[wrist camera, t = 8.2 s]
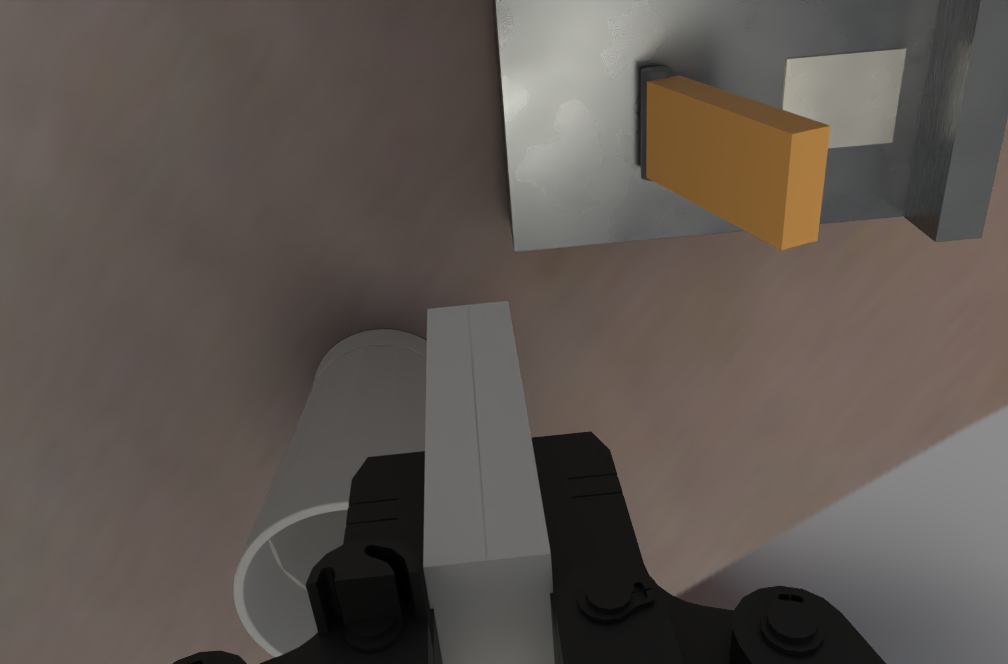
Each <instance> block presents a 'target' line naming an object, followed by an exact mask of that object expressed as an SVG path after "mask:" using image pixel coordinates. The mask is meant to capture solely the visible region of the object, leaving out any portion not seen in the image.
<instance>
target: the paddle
mask: <svg viewBox="0 0 1008 664" xmlns="http://www.w3.org/2000/svg"><path fill="white" fill-rule="evenodd" d="M830 127H831V126H830V125H827V124H824V123H821V122H818V121H815V120H812V119H809V118H806V117H803V116H800V115H797V114H794V113H791V112H788V111H785V110H782V109H779V108H776V107H773V106H770V105H767V104H764V103H761V102H758V101H755V100H752V99H749V98H746V97H743V96H740V95H737V94H734V93H731V92H728V91H725V90H722V89H719V88H716V87H713V86H710V85H707V84H704V83H701V82H698V81H695V80H692V79H689V78H686V77H683V76H680V75H678V76H673V77H672V68H671V67H666V66H652V67H646V68H643V69H641V178H642V179H643V180H646V181H654V182H656V183H658V184H659V185H661V186H663V187H665V188H667V189H669V190H670V191H672V192H674V193H676V194H678V195H680V196H682V197H683V198H685V199H687V200H689V201H691V202H693V203H695V204H696V205H698V206H700V207H702V208H704V209H706V210H708V211H709V212H711V213H713V214H715V215H717V216H719V217H720V218H722V219H724V220H726V221H728V222H730V223H732V224H733V225H735V226H737V227H739V228H741V229H743V230H745V231H746V232H748V233H750V234H752V235H754V236H756V237H758V238H759V239H761V240H763V241H765V242H767V243H769V244H771V245H772V246H774V247H776V248H778V249H780V250H785V249H789V248H792V247H796V246H800V245H803V244H807V243H811V242H815V241H817V240H818V232H819V223H820V214H821V205H822V197H823V188H824V179H825V170H826V162H827V153H828V144H829V135H830Z"/></svg>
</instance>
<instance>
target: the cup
mask: <svg viewBox="0 0 1008 664" xmlns="http://www.w3.org/2000/svg"><path fill="white" fill-rule="evenodd" d="M426 359H427V341H426V340H425V339H423V338H421V337H419V336H416V335H414V334H411V333H408V332H404V331H399V330H392V329H376V330H368V331H364V332H360V333H357V334H354V335H352V336H349V337H347V338H345V339H344V340H342V341H340V342H339V343H337V344H336V345H335V346H334V347H332V348H331V349H330V350H329V351H328V352H327V354H326V355H325V356H324V357H323V359H322V360H321V362H320V364H319V366H318V368H317V371H316V374H315V378H314V382H313V386H312V389H311V392H310V394H309V396H308V399H307V401H306V404H305V406H304V409H303V411H302V414H301V416H300V418H299V421H298V423H297V426H296V428H295V431H294V433H293V436H292V438H291V441H290V443H289V445H288V448H287V450H286V453H285V455H284V458H283V460H282V463H281V465H280V467H279V470H278V472H277V475H276V477H275V480H274V482H273V485H272V487H271V489H270V492H269V494H268V497H267V499H266V501H265V503H264V506H263V508H262V510H261V513H260V515H259V517H258V520H257V522H256V524H255V526H254V529H253V531H252V533H251V536H250V538H249V540H248V543H247V545H246V547H245V550H244V552H243V554H242V557H241V559H240V561H239V563H238V566H237V569H236V572H235V577H234V584H233V594H234V602H235V606H236V610H237V613H238V615H239V617H240V620H241V622H242V623H243V625H244V627H245V628H246V630H247V631H248V633H249V634H250V635H251V637H252V638H253V639H254V640H255V641H256V642H257V643H258V644H259V645H260V646H261V647H262V648H263V649H264V650H265V651H267V652H268V653H269V654H271V655H272V656H273V657H275V658H276V657H278V656H281V655H283V654H285V653H287V652H289V651H291V650H294V649H296V648H298V647H300V646H301V645H302V644H304V643H305V642H306V641H308V640H309V639H311V638H312V637H313V636H314V635H315V634H316V633H317V632H318V630H317V627H316V623H315V619H314V615H313V611H312V607H311V604H310V600H309V596H308V592H307V588H306V582H307V579H308V577H309V575H310V572H311V570H312V568H313V567H314V566H315V565H316V564H317V563H318V562H319V561H320V560H321V559H322V558H323V557H324V556H325V555H326V554H327V553H329V552H330V551H332V550H334V549H336V548H338V547H340V546H341V545H343V541H344V534H345V528H346V519H347V511H348V508H349V496H350V489H351V481H352V478H353V477H354V476H355V474H356V473H357V471H358V470H359V469H360V467H361V466H362V464H363V463H364V462H365V460H366V459H367V457H373V456H383V455H392V454H402V453H411V452H421V451H425V422H426Z"/></svg>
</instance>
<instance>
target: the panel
mask: <svg viewBox="0 0 1008 664" xmlns="http://www.w3.org/2000/svg"><path fill="white" fill-rule="evenodd" d="M493 11H494V24H495V37H496V50H497V63H498V76H499V88H500V101H501V114H502V127H503V140H504V153H505V166H506V179H507V192H508V205H509V218H510V226H511V232H512V238H513V245H514V251H515V252H517V251H528V250H539V249H550V248H561V247H572V246H583V245H594V244H605V243H616V242H627V241H638V240H649V239H659V238H670V237H681V236H692V235H703V234H714V233H725V232H736V231H745V230H743V229H741V228H739V227H737V226H735V225H733V224H732V223H730V222H728V221H726V220H724V219H722V218H720V217H719V216H717V215H715V214H713V213H711V212H709V211H708V210H706V209H704V208H702V207H700V206H698V205H696V204H695V203H693V202H691V201H689V200H687V199H685V198H683V197H682V196H680V195H678V194H676V193H674V192H672V191H670V190H669V189H667V188H665V187H663V186H661V185H659V184H658V183H656V182H654V181H646V180H643V179H642V178H641V69H643V68H646V67H652V66H666V67H671V68H672V77H673V76H678V75H680V76H683V77H686V78H689V79H692V80H695V81H698V82H701V83H704V84H707V85H710V86H713V87H716V88H719V89H722V90H725V91H728V92H731V93H734V94H737V95H740V96H743V97H746V98H749V99H752V100H755V101H758V102H761V103H764V104H767V105H770V106H773V107H776V108H779V109H782V110H785V111H788V112H791V113H794V114H797V115H800V116H803V117H806V118H809V119H812V120H815V121H818V122H821V123H824V124H827V125H830V126H831V127H830V135H829V144H828V153H827V162H826V170H825V179H824V188H823V197H822V205H821V214H820V223H819V224H823V223H834V222H845V221H856V220H867V219H878V218H889V217H900V216H904V217H905V218H906V219H907V220H909V221H910V222H911V223H912V224H914V225H915V226H916V227H917V228H919V229H920V230H921V231H922V232H924V233H925V234H926V235H927V236H929V237H930V238H931V239H932V240H934V241H935V242H941V241H952V240H963V239H974V238H982V233H983V228H984V224H985V219H986V214H987V210H988V205H989V201H990V196H991V191H992V187H993V182H994V178H995V173H996V168H997V164H998V159H999V154H1000V150H1001V145H1002V141H1003V136H1004V131H1005V127H1006V122H1007V117H1008V0H493Z"/></svg>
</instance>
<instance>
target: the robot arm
mask: <svg viewBox="0 0 1008 664" xmlns="http://www.w3.org/2000/svg"><path fill="white" fill-rule="evenodd" d="M306 588H307V592H308V596H309V600H310V604H311V607H312V611H313V615H314V619H315V623H316V627H317V630H318V632H317V633H316V634H315V635H314V636H313V637H312V638H311V639H309V640H308V641H306V642H305V643H304V644H302V645H301V646H300V647H298V648H296V649H294V650H291V651H289V652H287V653H285V654H283V655H281V656H278V657H276V658H273V659H270V660H268V661H265V662H263V663H260V664H886V663H885V662H884V661H883V660H882V659H881V657H880V656H879V655H878V654H877V653H876V652H875V651H874V649H872V647H871V646H870V645H869V644H868V643H867V641H866V640H865V639H864V638H863V637H862V636H861V635H860V634H859V632H858V631H857V630H856V629H855V628H854V627H853V626H852V625H851V623H850V622H849V621H848V620H847V619H846V618H845V617H844V615H843V614H842V613H841V612H840V611H838V610H837V609H836V608H835V607H834V606H832V605H831V604H830V603H829V602H828V601H826V600H825V599H824V598H822V597H819V596H817V595H815V594H813V593H810V592H808V591H806V590H803V589H798V588H791V587H785V586H775V587H768V588H761V589H758V590H756V591H754V592H752V593H751V594H749V595H747V596H745V597H743V598H742V600H741V601H740V603H739V604H738V606H737V607H736V608H735V610H734V611H733V610H726V609H720V608H714V607H707V606H701V605H697V604H693V603H689V602H686V601H683V600H681V599H679V598H677V597H675V596H672V595H670V594H669V593H668V592H666V591H665V590H664V589H662V588H661V587H659V586H658V585H657V584H656V582H655V581H654V580H653V579H652V578H651V577H650V576H649V574H648V572H647V570H646V567H645V565H644V563H643V559H642V556H641V553H640V549H639V546H638V543H637V539H636V536H635V533H634V529H633V526H632V523H631V519H630V516H629V512H628V509H627V506H626V502H625V499H624V496H623V494H622V489H621V486H620V482H619V479H618V477H617V472H616V469H615V465H614V462H613V459H612V455H611V452H610V450H609V449H608V448H607V447H606V446H605V445H604V444H603V443H602V442H601V441H600V440H599V439H598V438H597V437H596V436H595V435H594V434H593V433H592V432H582V433H572V434H563V435H553V436H544V437H534V438H531V433H530V427H529V421H528V415H527V409H526V403H525V397H524V391H523V385H522V379H521V373H520V367H519V361H518V355H517V349H516V343H515V337H514V332H513V326H512V320H511V314H510V308H509V302H508V301H501V302H491V303H481V304H471V305H461V306H451V307H441V308H432V309H427V359H426V422H425V451H421V452H411V453H402V454H392V455H383V456H373V457H367V459H366V460H365V462H364V463H363V464H362V466H361V467H360V469H359V470H358V471H357V473H356V474H355V476H354V477H353V478H352V481H351V489H350V496H349V508H348V511H347V519H346V528H345V534H344V541H343V545H341V546H340V547H338V548H336V549H334V550H332V551H330V552H329V553H327V554H326V555H325V556H324V557H323V558H322V559H321V560H320V561H319V562H318V563H317V564H316V565H315V566H314V567H313V568H312V570H311V572H310V575H309V577H308V579H307V582H306ZM173 664H247V663H246V662H245V661H244V660H243V659H242V658H241V657H240V656H238V655H234V654H231V653H227V652H224V651H209V652H199V653H196V654H193V655H191V656H188V657H185V658H183V659H180V660H177V661H176V662H174V663H173Z"/></svg>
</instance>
